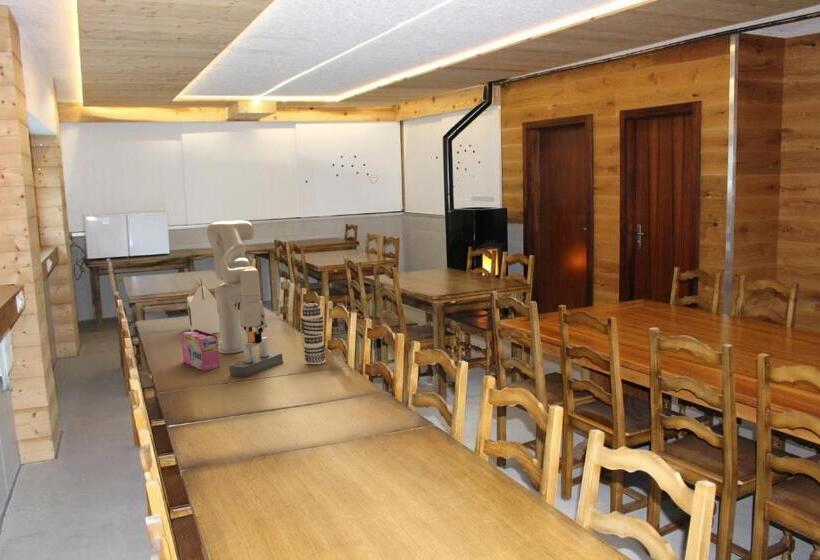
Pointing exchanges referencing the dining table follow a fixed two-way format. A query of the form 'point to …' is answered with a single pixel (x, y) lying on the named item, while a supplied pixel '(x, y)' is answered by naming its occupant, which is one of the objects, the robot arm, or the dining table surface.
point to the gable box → (202, 309)
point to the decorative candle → (313, 333)
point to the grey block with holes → (255, 365)
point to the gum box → (200, 349)
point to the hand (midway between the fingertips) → (255, 342)
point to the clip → (247, 346)
